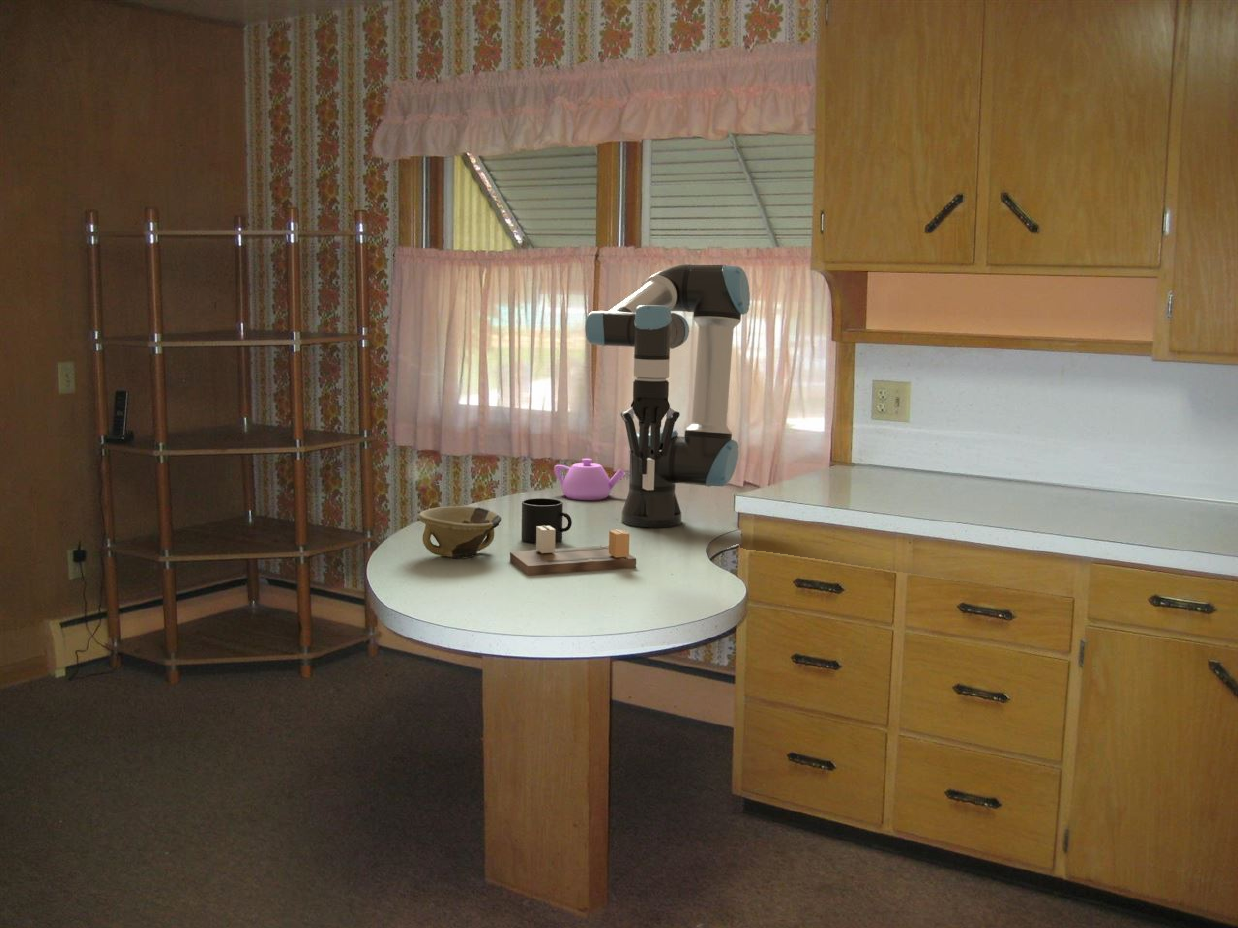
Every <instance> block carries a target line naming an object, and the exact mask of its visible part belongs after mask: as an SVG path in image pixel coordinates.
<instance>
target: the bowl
mask: <svg viewBox="0 0 1238 928" xmlns="http://www.w3.org/2000/svg"><path fill="white" fill-rule="evenodd" d="M418 517H419V521H420V522H421V523H422V524H424V525H425V527H424V530H423V533H422V543H423V546H424V547H425V549H426V550H428V551H429V552H430V553H432V554H434V555H437V556H441V557H447V558H452V559H453V558H454V559H467V558H471V557H473V556H475V555H476V554H477V552H480V551H482V550H485V549H486V548H488V547H490V545H491V544H492V543H493V541H494V539H495V529H496V528H497V527H498V526H500V523H501V521H502V517H501V515H499V514H498V513H496V512H494V511H493V510H489V509H486V508H481V507H478V506H469V505H459V506H457V505H456V506H454V505H453V506H439V507H434V508H433V507H432V508H429V509H426V510H422V511H420V512H419V513H418ZM432 536H433V537H434V540H435V541H436V542H437V543H438V545H436V544H434V543H433V542H432V541H431V537H432Z"/></svg>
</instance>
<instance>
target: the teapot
mask: <svg viewBox="0 0 1238 928" xmlns="http://www.w3.org/2000/svg"><path fill="white" fill-rule="evenodd" d="M581 460H582V462H578V463H573V464H572V465H571V466H567V465H564V464H556V465H554V469H553V470H554V474H555V476H556V478H557V481H559V483H560V484H561V491H562V494H563V495H564V496H565V497H566V498H567V499H572V500H577V501H578V500H579V501H598V500H605V499H607V497H608V496H609V495H610V494H611V492H612V489H613V488H614V487H615V486H616V485H617V484H618V483H619V482H620V481H621V479H623V477H624V476H625V475H626V473H625V471H623V470H622V469H621V468H619V469H618V470H617V471H616V472H615V474H613V475H612V477H611V478H609V476H608V474H607V472H606V470H605V468H604V467H603V466H602V464H599V463H596V462H595V463H594V462H593V459H592V458H582V459H581ZM592 462H593V463H592ZM561 470H567V472H566V474H565V476H564V478H563V477H562V474H561Z"/></svg>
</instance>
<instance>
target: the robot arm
mask: <svg viewBox="0 0 1238 928" xmlns="http://www.w3.org/2000/svg"><path fill="white" fill-rule="evenodd" d="M748 280H749V279H748V277H747V274H746V272H745V271H744V269H743V268H742V267H740V266H737V265H729V264H686V263H685V264H678V265H674V266H671V267H668V268H665V269H663V270H660V271H658V272H656V273H654V274H652V275H651V276H649V277H648V278H646V279H645V280H644V281H643V282H642V284H641V286H640V289H638V290H636V291H635V292H634V293H632V294H631V295H629V296H628V297H626V298H625V299H623V300H622V301H621V302H619V303H618V304H617V305H615V306H613V308H610V310H608V311H605V310H597V311H596V310H595V311H593V310H592V311H591V312H590V313H589V314H588V315H587V316H586V320H585V326H584V327H585V328H584V331H585V338H586V339H587V341H588V342H589V344H590V345H596V346H597V345H598V346H603V347H633V348H634V349H633V351H634V354H633V355H634V356H633V357H634V358H633V376H634V378H636V379H634V380H633V385H632V402H631V403H630V408H628V409H627V410H626V411H621V412H620V416H621V418H622V420H623V422H624V424H625V425H624V426H625V429H626V430H625V431H626V435H627V440H628V445H629V483H628V488H629V489H628V493H627V496H626V499H625V503H624V504H623V505H624V506H623V508H622V510H621V522H622V523H623V524H625V525H628V526H633V527H640V528H650V529H651V528H655V529H656V528H659V529H661V528H669V527H670V528H671V527H676V526H679V525H681V524H682V511H681V509H680V508H681V507H680V504H679V501H678V498H677V494H676V484H683V485H693V486H705V487H709V488H710V487H725V486H727V485H728V484H729V483H730V481H731V480H732V478H733V476H734V475H735V470H736V468H737V463H738V459H739V444H738V442H737V441H736V440H735V439H732V436H733V432H732V431H731V430H730V429H729V427H728V425H727V424H728V423H727V421H728V410H729V409H728V407H729V394H730V384H731V383H730V381H731V368H732V357H733V354H732V353H733V344H734V343H733V342H734V341H733V340H734V329H735V327H737V326H738V325H739V324H740V323H741V318H742V316H743V315H745V314H748V312H749V310H750V304H751V302H750V301H751V295H750V294H751V293H750V285H749V281H748ZM674 312H686V313H693V315H692V316H693V318H692V319H693V320H694V322H695V323H696V324H697V326H698V335H697V348H696V360H695V361H696V362H695V372H694V373H695V374H694V375H695V376H694V388H693V399H692V400H693V401H692V411H691V412H692V415H691V423H690V424H689V425H688V426H687V427H686V428H685V430H684V435H683V436H679V433H678V431H677V430H676V429H674V428H675V425H676V422H677V421H678V418H679V417H680V414H681V413H680V412H679V411H677V410H674V409H673V408H671V404H670V402H669V395H670V394H669V392H670V390H669V389H670V388H669V386H670V382H669V380H668V378H669V377H670V360H671V359H670V358H671V357H670V353H671V350H673V349H675V348H678V347H680V346H682V345H683V344H684V343H685V342H686V341H687V340H688V338H689V334H690V327H689V323H688V321H687V320H686V318H684V317H683V316H682V315H680V314H678V313H674ZM634 415H635V416H634ZM665 416H666V419H665V422H664V426H663V429H661V428H662V420H664V418H665ZM635 417H636V418H637V420H638V427H639V428H638V429H639V432H637V431H636V425H635V422H634V419H635Z"/></svg>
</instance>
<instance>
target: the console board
mask: <svg viewBox="0 0 1238 928" xmlns="http://www.w3.org/2000/svg"><path fill="white" fill-rule="evenodd" d="M509 562H511V564H513V565H514V566H515V567H517V568H518V569H519V570H520V571H521V572H523V573H525V574H526V576H537V575H538V576H539V575H541V576H542V575H551V574H554V575H555V574H564V573H565V574H567V573H578V572H592V571H609V570H622V569H635V568H637V558H636V557H634V556H633V555H631V554H629V557H614V556H612V555H611V554H609V545H599V546H583V547H582V546H581V547H580V546H579V547H569V548H568V547H566V548H555V552H552V553H541V552H539V551H538V550H537V549H535V550H534V549H533V550H520V551H510V552H509Z"/></svg>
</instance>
